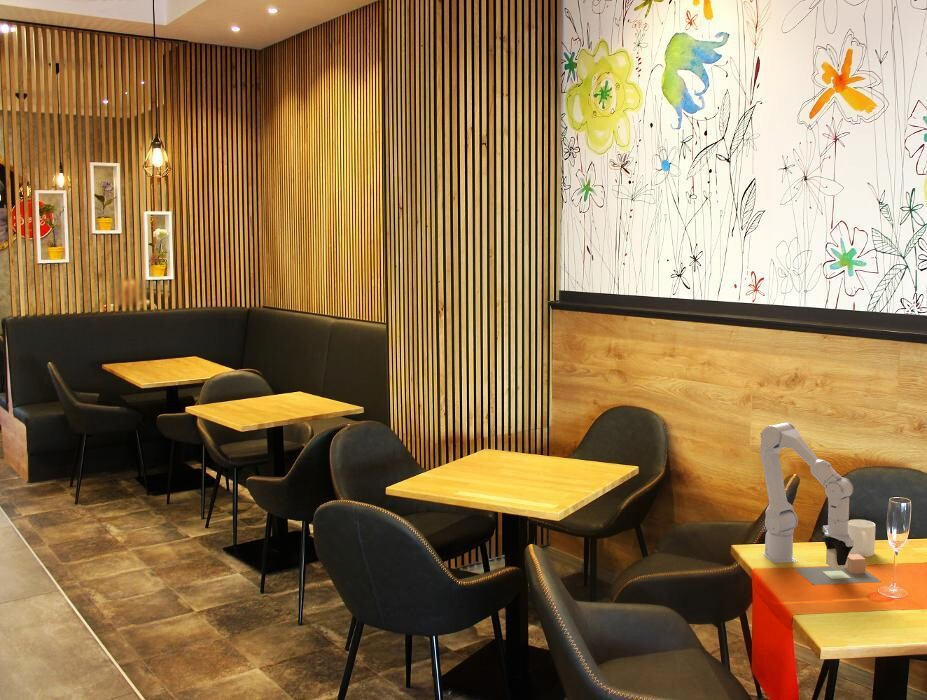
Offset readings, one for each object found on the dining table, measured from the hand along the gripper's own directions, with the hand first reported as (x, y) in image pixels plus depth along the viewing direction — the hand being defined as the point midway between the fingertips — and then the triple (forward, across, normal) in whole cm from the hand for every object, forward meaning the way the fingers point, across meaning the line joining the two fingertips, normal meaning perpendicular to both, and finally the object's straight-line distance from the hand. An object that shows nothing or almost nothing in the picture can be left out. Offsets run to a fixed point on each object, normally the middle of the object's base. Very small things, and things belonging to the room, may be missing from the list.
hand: (837, 562), depth 282 cm
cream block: (+1, 0, 0) cm, 1 cm away
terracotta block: (+4, -2, +7) cm, 8 cm away
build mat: (+4, 0, 0) cm, 4 cm away
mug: (+5, -16, +17) cm, 24 cm away
